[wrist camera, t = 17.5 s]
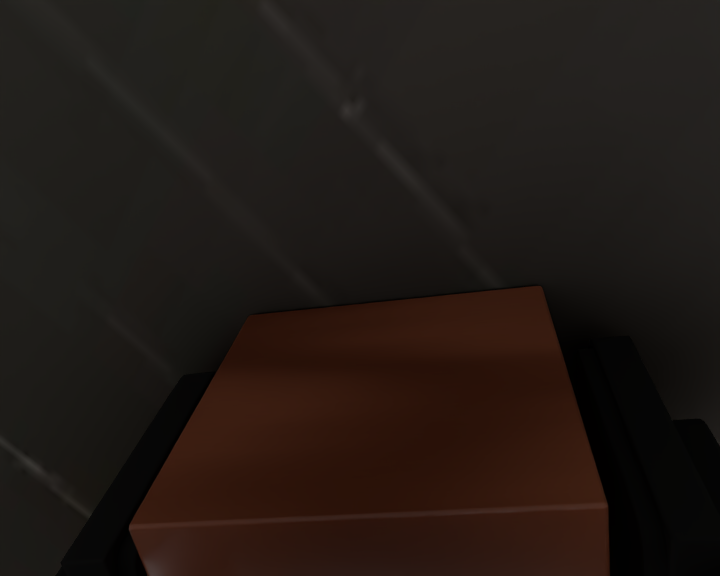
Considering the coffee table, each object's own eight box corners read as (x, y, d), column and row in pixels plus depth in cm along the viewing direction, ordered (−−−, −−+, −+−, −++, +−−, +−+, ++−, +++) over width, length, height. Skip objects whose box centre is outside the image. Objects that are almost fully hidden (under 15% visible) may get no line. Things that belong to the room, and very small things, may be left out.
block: (305, 530, 12) (237, 801, 8) (248, 314, 11) (124, 527, 7) (557, 519, 12) (617, 813, 8) (542, 283, 10) (609, 504, 6)
